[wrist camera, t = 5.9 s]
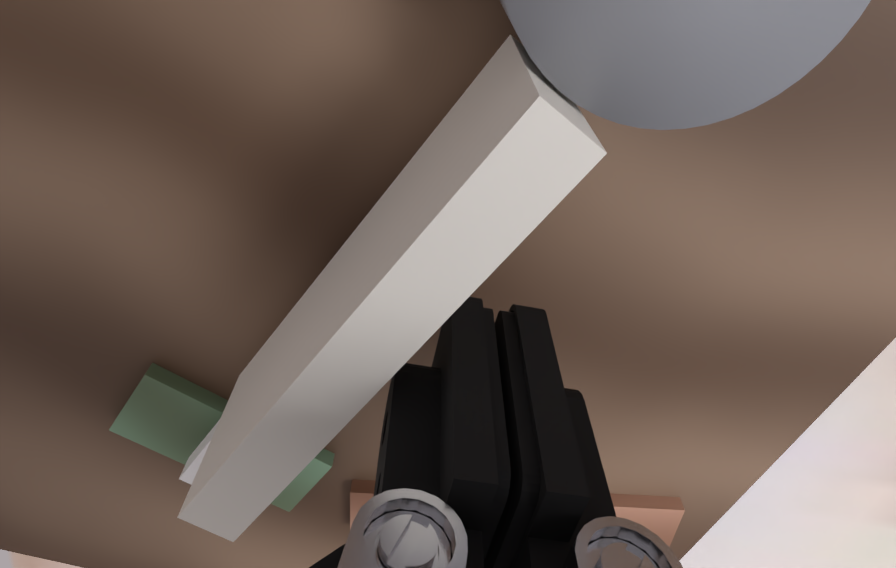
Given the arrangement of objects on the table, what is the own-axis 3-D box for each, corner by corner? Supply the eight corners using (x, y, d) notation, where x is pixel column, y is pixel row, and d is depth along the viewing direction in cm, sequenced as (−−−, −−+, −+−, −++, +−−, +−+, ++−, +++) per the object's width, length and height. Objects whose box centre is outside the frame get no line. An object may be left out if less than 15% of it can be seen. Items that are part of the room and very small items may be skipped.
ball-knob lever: (651, -385, 7) (809, -602, 4) (866, -107, 9) (1104, -111, 6) (116, 402, 14) (17, 553, 10) (291, 487, 15) (250, 643, 12)
